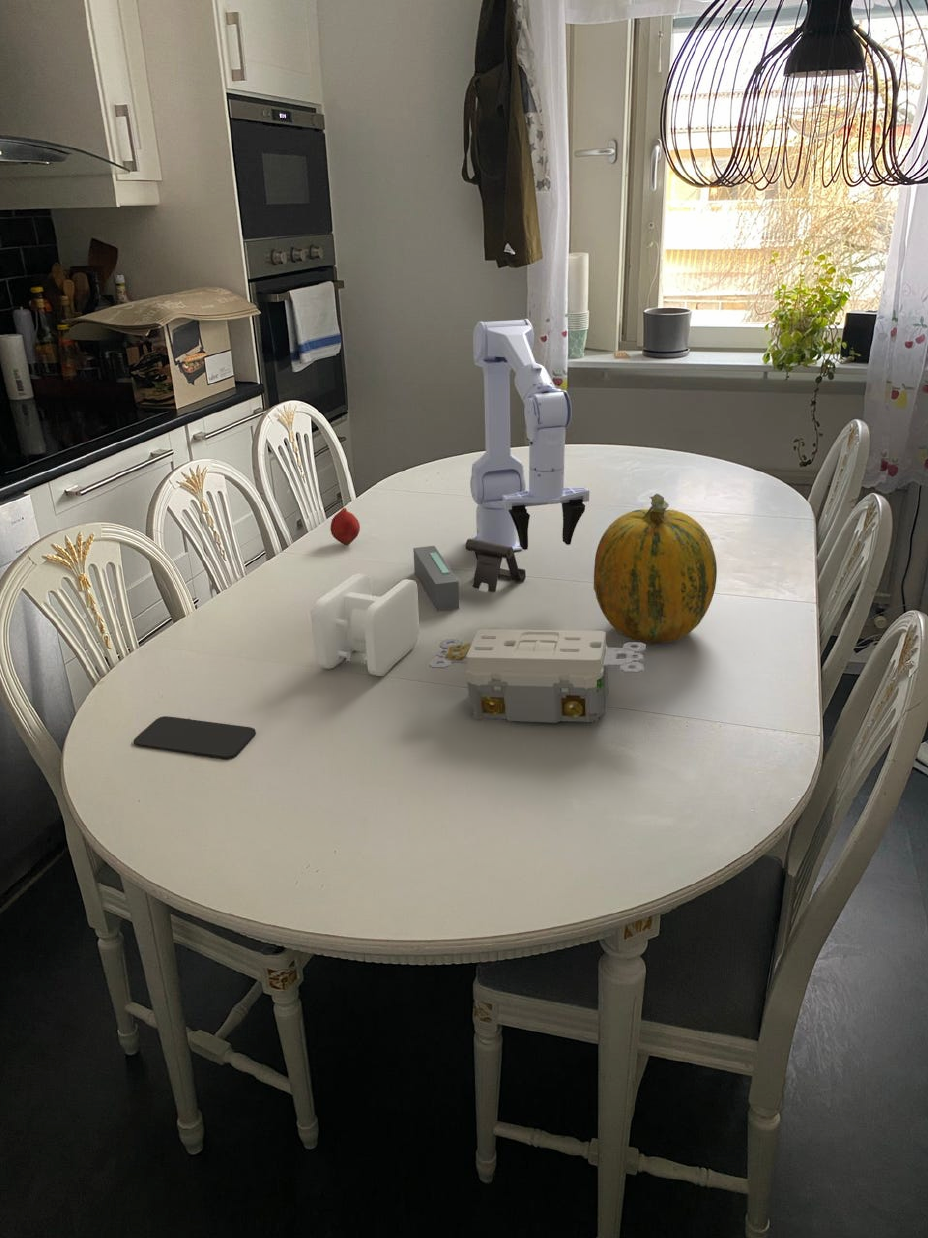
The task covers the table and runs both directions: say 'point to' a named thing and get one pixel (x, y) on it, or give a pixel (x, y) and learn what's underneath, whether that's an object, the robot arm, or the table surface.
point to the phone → (195, 737)
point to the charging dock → (436, 578)
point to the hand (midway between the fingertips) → (545, 545)
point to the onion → (345, 527)
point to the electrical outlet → (538, 673)
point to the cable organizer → (365, 624)
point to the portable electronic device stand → (493, 564)
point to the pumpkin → (655, 573)
